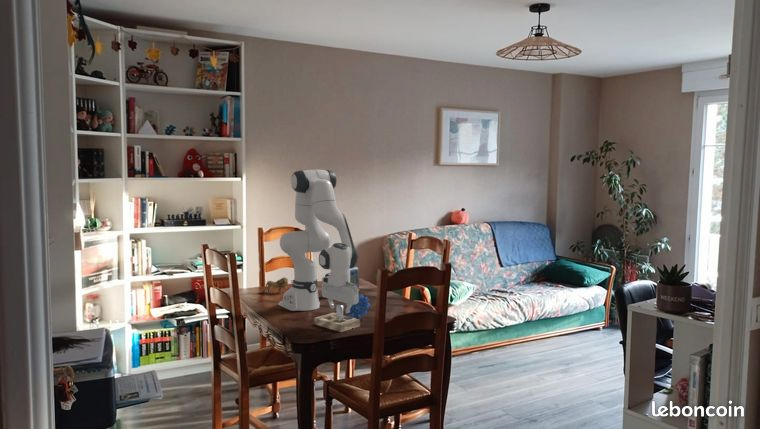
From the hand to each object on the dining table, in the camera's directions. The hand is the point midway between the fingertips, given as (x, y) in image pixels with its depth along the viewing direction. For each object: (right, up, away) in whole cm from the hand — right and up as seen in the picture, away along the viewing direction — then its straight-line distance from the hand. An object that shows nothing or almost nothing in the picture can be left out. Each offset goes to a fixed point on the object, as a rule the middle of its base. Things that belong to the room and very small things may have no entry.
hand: (339, 310), depth 250 cm
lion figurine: (-40, -1, +63) cm, 75 cm away
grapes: (+7, -7, +14) cm, 18 cm away
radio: (-3, -2, +60) cm, 60 cm away
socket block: (-1, -7, +3) cm, 8 cm away
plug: (0, -8, 0) cm, 8 cm away
